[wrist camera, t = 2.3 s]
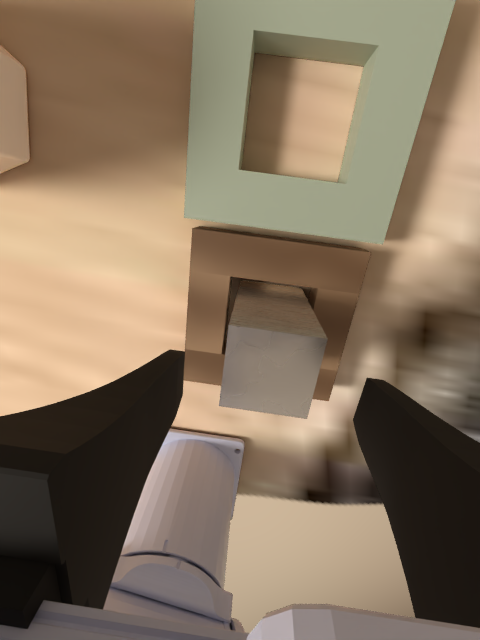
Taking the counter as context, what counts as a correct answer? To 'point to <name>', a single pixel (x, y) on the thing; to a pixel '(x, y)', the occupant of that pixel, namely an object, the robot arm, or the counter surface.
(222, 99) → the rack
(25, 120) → the jar
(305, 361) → the peg
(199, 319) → the socket block
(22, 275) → the counter surface
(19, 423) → the robot arm
